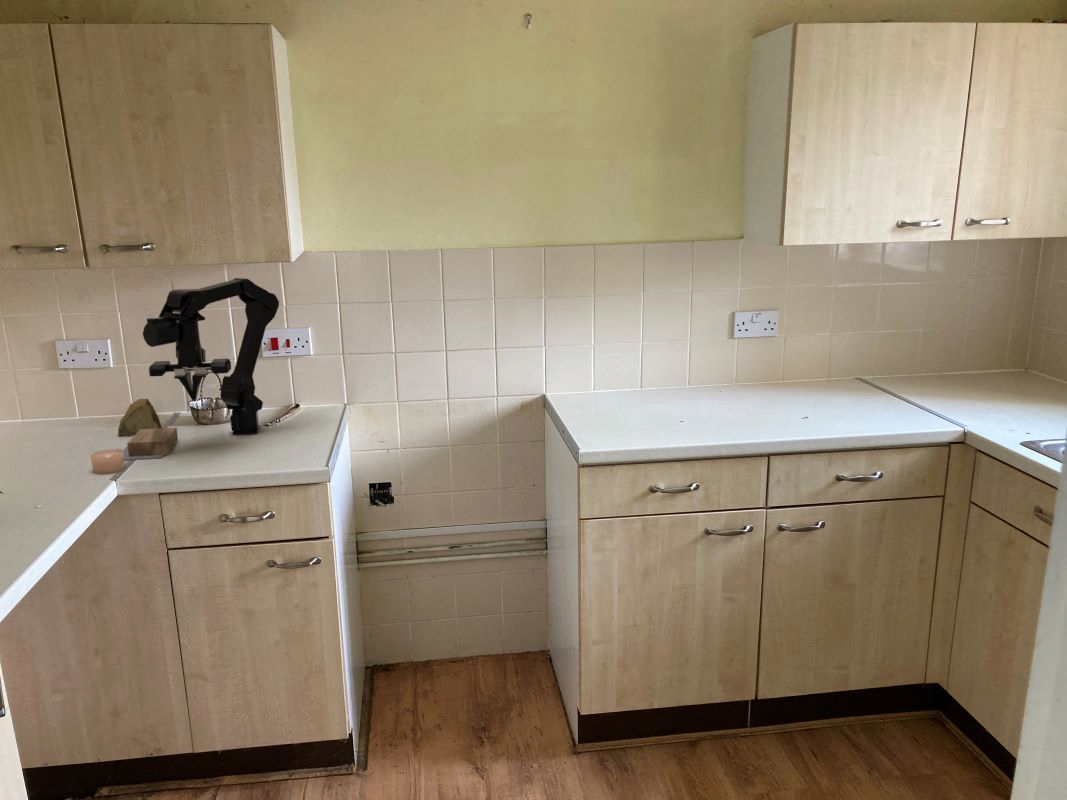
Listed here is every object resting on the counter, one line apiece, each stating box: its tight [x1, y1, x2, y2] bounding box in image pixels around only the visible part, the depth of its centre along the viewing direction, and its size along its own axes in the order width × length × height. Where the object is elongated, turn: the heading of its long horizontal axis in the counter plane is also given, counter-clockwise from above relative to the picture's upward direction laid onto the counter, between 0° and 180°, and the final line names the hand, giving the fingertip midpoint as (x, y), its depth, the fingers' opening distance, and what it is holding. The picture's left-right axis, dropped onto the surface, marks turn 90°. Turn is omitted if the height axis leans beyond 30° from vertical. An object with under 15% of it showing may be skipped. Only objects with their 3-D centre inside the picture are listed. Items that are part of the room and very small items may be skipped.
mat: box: [122, 445, 166, 461], centre depth 215 cm, size 11×16×1 cm
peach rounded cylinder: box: [90, 448, 126, 475], centre depth 201 cm, size 7×7×4 cm
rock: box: [117, 398, 163, 437], centre depth 230 cm, size 11×9×10 cm
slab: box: [126, 427, 179, 457], centre depth 215 cm, size 4×12×9 cm
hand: (194, 400), depth 215 cm, fingers closed
